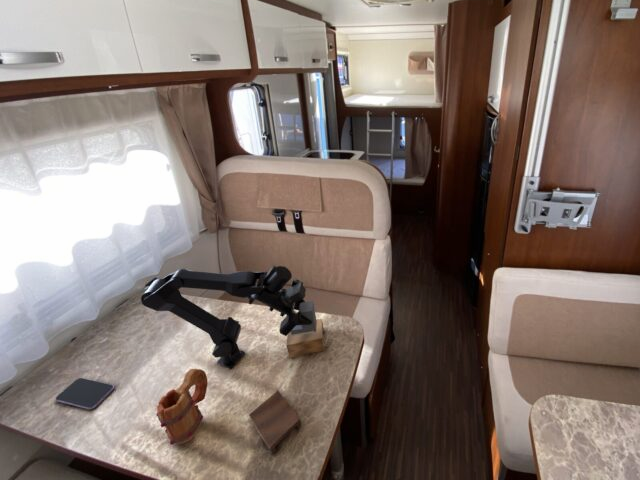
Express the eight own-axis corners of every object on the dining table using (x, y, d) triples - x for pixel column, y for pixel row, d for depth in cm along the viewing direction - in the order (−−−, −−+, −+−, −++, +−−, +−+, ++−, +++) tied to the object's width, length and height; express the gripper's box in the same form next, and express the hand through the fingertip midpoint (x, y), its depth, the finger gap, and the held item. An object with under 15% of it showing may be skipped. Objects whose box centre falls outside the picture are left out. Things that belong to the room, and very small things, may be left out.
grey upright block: (316, 320, 108) (313, 300, 104) (316, 332, 103) (312, 311, 99) (293, 324, 106) (288, 304, 103) (291, 336, 102) (286, 315, 98)
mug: (187, 454, 79) (168, 419, 73) (161, 447, 81) (140, 413, 75) (224, 397, 92) (211, 364, 86) (202, 393, 94) (187, 360, 88)
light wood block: (289, 357, 104) (286, 345, 101) (291, 336, 112) (288, 324, 109) (324, 350, 106) (322, 338, 103) (324, 330, 114) (321, 318, 111)
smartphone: (91, 409, 90) (52, 399, 93) (92, 411, 91) (54, 401, 94) (115, 385, 97) (79, 376, 100) (116, 387, 97) (80, 379, 100)
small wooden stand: (251, 421, 86) (248, 414, 84) (279, 396, 92) (277, 390, 90) (271, 454, 78) (269, 447, 77) (301, 425, 84) (299, 418, 83)
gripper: (283, 302, 88) (326, 324, 93) (291, 263, 105) (327, 284, 110) (261, 326, 90) (304, 346, 96) (272, 284, 107) (308, 303, 112)
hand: (312, 317), depth 103 cm, fingers closed on grey upright block, 4 cm apart
